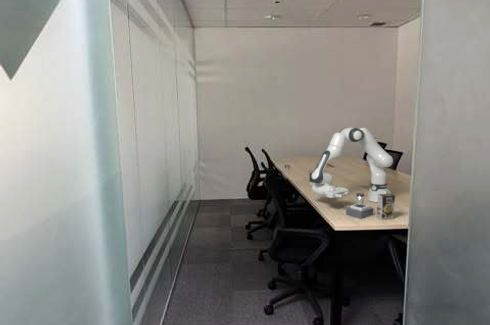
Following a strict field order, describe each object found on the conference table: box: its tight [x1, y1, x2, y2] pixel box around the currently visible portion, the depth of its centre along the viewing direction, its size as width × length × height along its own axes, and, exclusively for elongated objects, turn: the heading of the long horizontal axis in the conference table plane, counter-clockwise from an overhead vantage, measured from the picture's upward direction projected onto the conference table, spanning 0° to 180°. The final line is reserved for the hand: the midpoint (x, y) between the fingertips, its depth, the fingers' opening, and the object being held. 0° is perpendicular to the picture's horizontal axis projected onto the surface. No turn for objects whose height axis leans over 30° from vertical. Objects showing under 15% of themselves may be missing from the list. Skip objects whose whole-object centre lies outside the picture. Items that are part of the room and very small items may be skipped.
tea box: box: [308, 169, 326, 186], centre depth 334 cm, size 15×10×15 cm, turn 84°
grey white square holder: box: [345, 203, 374, 220], centre depth 234 cm, size 14×12×6 cm
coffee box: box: [376, 193, 396, 221], centre depth 225 cm, size 9×6×16 cm
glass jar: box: [355, 192, 365, 208], centre depth 233 cm, size 5×5×10 cm
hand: (346, 195), depth 241 cm, fingers open, 8 cm apart
